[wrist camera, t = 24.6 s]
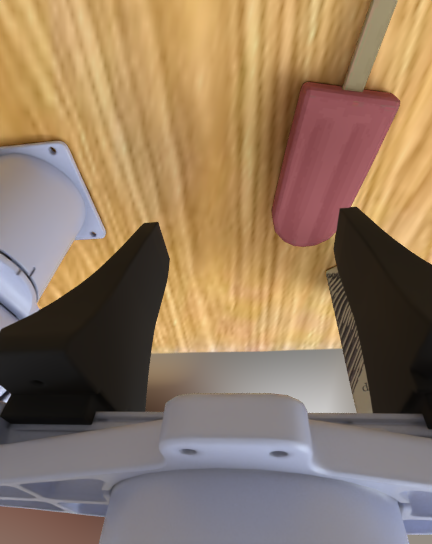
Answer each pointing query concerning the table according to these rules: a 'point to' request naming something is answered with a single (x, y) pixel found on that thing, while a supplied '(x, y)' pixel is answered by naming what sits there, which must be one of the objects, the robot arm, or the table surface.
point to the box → (350, 343)
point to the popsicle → (333, 142)
